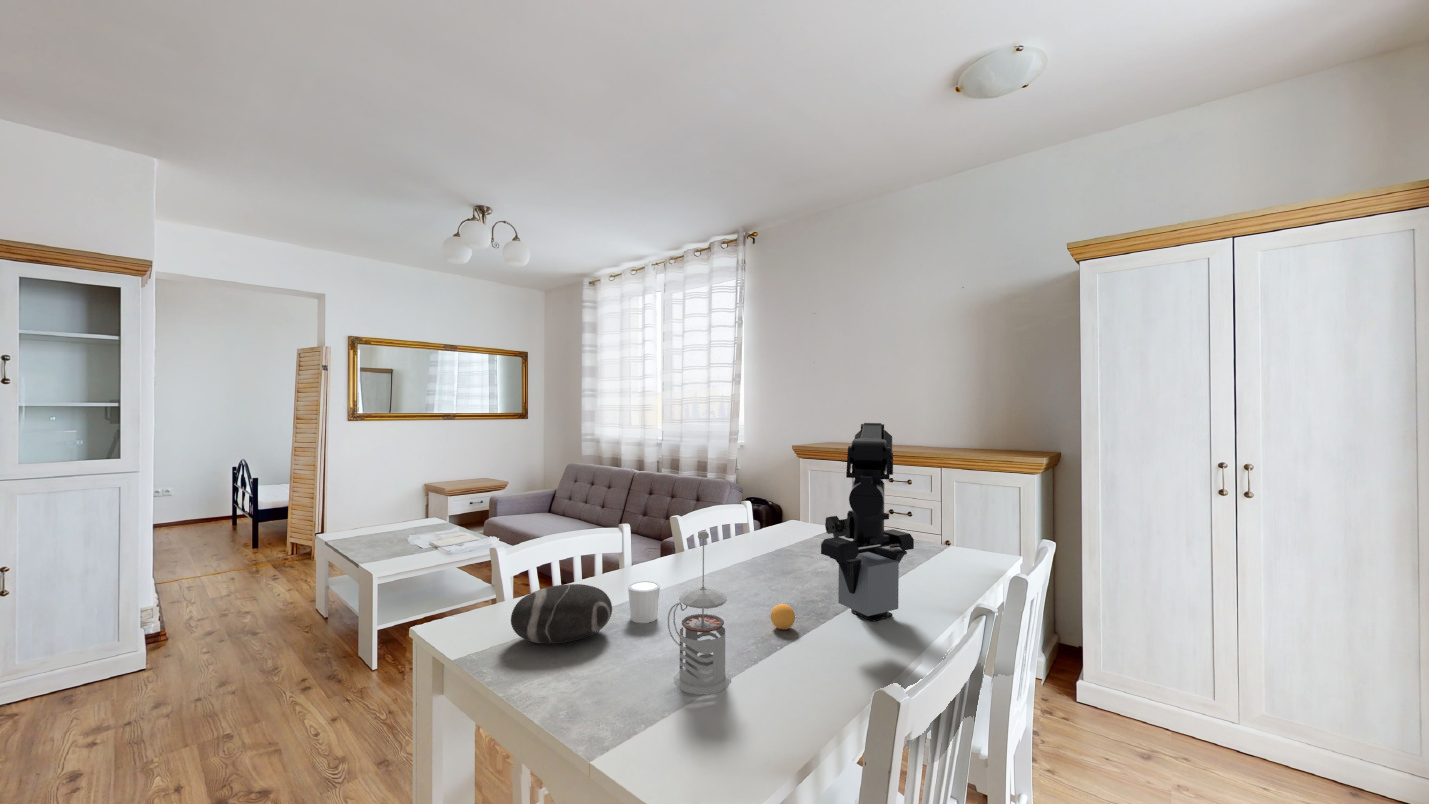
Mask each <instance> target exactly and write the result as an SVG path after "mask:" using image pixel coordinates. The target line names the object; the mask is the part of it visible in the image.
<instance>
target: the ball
mask: <svg viewBox="0 0 1429 804" xmlns="http://www.w3.org/2000/svg"><path fill="white" fill-rule="evenodd" d="M770 620H771V623H772V624H773V626H774V627H775V628H777V629H779V630H789V629H790V628H791V627H792V626H794V623H795V621H796V615H795V611H794V609H793V607H791V606H790V605H789V604H786V603H779V604H776V605H775V606H774V607H773V608H772V609H771V612H770Z"/></svg>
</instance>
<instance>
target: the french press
mask: <svg viewBox="0 0 1429 804" xmlns="http://www.w3.org/2000/svg"><path fill="white" fill-rule="evenodd" d="M697 538H698V539H701V540H702V586H695V587H693V588H690V589H688V590H686V591H684V592H682V594H680V595H679V597H678V600H679V602H677V603H675V604H673V605H672V606H671V607H670V609H669V612H668V614H667V629H668V631H669V634H670V635H669V636H670V637H671V639H672V640H673V642H674V643H675V644H676V645H678V646H679V671H678V672H677V673H676V674H674V676H673V684H674V686H676V688H677V689H679V690H681V691H682V692H685V693H688V694H689V693H690V694H694V695H711V694H715V693H719V692H722V691H724V690H725V689H727V688H728V687H729V686H730V685H731V683H732V676H731V675H730V674H729V673H728V672H727V671H726V628H725V627H724V625H725V623H724V622H725V621H724V619H723V618H722V617H720V616H717V615H715V614H708V613H704V610H705V609H706V610H707V609H714V608H718V607H720V606H723V605H724V604H726V602H727V601H728V597H727V595H725V594H724V593H723V592H721V591H720V590H718V589H716V588H714V587H710V586H704V585H705V540H706V539H709V538H710V535H709V532H708V531H706V530H700V531H699V532H698V534H697ZM683 605H684V606H685V607H684V608H683ZM678 606H680V611H681V612H684V611H685V610H687V609H688V607H690V608H693V609H694V608H695V609H702V610H701V611H702V612H701V613H698V614H697V613H695V614H691V615H687V616H685V617H684V618H682V620H681V625H682V627H681V628H680V629H679V632H678V629H677V627H676V625H677V624H676V621H675V620H676V610H677V609H678ZM673 609H674V610H673ZM672 611H673V625H674V631H675V633H676V634H677V636H678V637H679V642H678V641H677V640H676V639H675V637H674V636H673V635H672V631H671V628H670V615H671V613H672ZM684 629H685V636H684ZM714 632H716V633H717V634H718V635H719V636H718V635H717V634H716V633H714ZM698 633H699V634H698ZM708 636H709V637H712V639H711V638H706V639H702V640H700V638H702V637H708ZM684 644H685V646H684ZM684 652H685V653H684ZM712 653H713V654H712ZM698 654H700V655H698ZM724 688H725V689H724Z"/></svg>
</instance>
